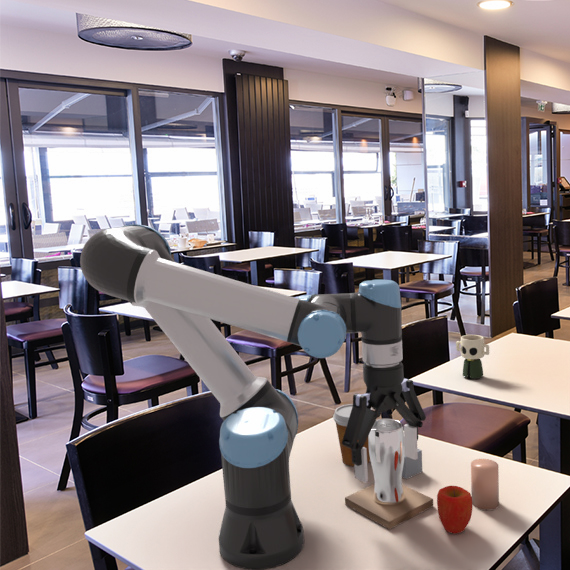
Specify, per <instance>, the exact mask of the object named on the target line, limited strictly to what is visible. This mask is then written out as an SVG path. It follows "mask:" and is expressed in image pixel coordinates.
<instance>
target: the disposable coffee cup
mask: <svg viewBox="0 0 570 570" xmlns="http://www.w3.org/2000/svg"><path fill="white" fill-rule="evenodd" d="M352 407H353V403H350V404H343V405H340V406H338V407H336V408H335V410H334V414H333V415H332V418H333V420H334V422H335V425H336V432H337V439H338V442H339V448H340V454H341V458H342V459H341V460H342V463H343V464H345V465H347V466H349V467H355V465H354V464H353V463H352V451H351V449H350V448H348V447H345V446H343V445H342V440H343V437H344V434H345V430H346V427H347V424H348V420H349V417H350V413H351V410H352ZM371 410H374V409H373V408H372V407H371ZM358 441H359V440H357V442H358ZM363 447H365V448H366V449H367V465H368V464H369V463H370V462H371V461H370V456H369V448H368V438H367V440H366V442H365V444H364V446H363ZM369 461H370V462H369Z"/></svg>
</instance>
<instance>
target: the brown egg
mask: <svg viewBox="0 0 570 570" xmlns="http://www.w3.org/2000/svg"><path fill="white" fill-rule="evenodd" d="M499 473H500V472H499V463H498V462H497V461H495V460H494V459H493V460H492V459H489V458H477V459H474V460H472V461H471V462H470V480H471V481H470V482H471V484H470V485H471V489H470V490H471V493H470V494H471V497H472V507H475V508H477V510H478V509H479V510H482V511H493V510H496V509H498V508H499V506H500V495H499V493H500V492H499V491H500V489H499V485H500V482H499V481H500V480H499V479H500V478H499V477H500V476H499Z"/></svg>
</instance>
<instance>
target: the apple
mask: <svg viewBox="0 0 570 570" xmlns="http://www.w3.org/2000/svg"><path fill="white" fill-rule="evenodd" d="M436 498H437V500H436V506H437V513H438V516H439V520H440V523H441V525H442V527H443V528H444V530H445V531H446V532H449V533H451V534H460V533H462V532H464V531H465V530H466V528H467V526H468V524H469V523H470V521H471V518H472V514H473V505H472V494H471V493H470V492H469V491H468V490H467V489H465V488H464V487H460V486H457V485H447V486H444V487H442V488H439V490H438V492H437V495H436Z"/></svg>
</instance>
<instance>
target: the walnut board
mask: <svg viewBox="0 0 570 570" xmlns="http://www.w3.org/2000/svg"><path fill="white" fill-rule="evenodd" d="M374 485H375V484H371V485H369V486H367V487H365V488H363V489H361V490H359V491H357V492H354V493H352V494H349V495H348V496H346V497H344V501H345V502H344V503H345V504H344V505H345V506H347V507H349V508H351V509H352V510H354V511H356V512H358V513H360V514H361V515H362V516H364V517H367V518H369V519H370V520H372V521H374V522H375V523H377V524H379V525H381V526H382V527H384V528H385V529H388V530H391V529H393V528H395V527H397V526H399V525H400V524H403V523H404V522H407V521H408V520H410V519H412V518H414V517H415V516H418V515H420V514H421V513H424V512H425V511H426V510H428V509H430V508H432V507H434V498H432V497H431V496H428V495H426V494H424V493H421V492H419V491H417V490H415V489H413V488H411V487H409V486H406V485H404V484H402V487H403V491H404V496H405V499H404V501H403V502H402V503H400V504H398V505H392V506H387V505H381V504H379V503H377V502H376V501H375V500H374V499H373V493H374Z"/></svg>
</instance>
